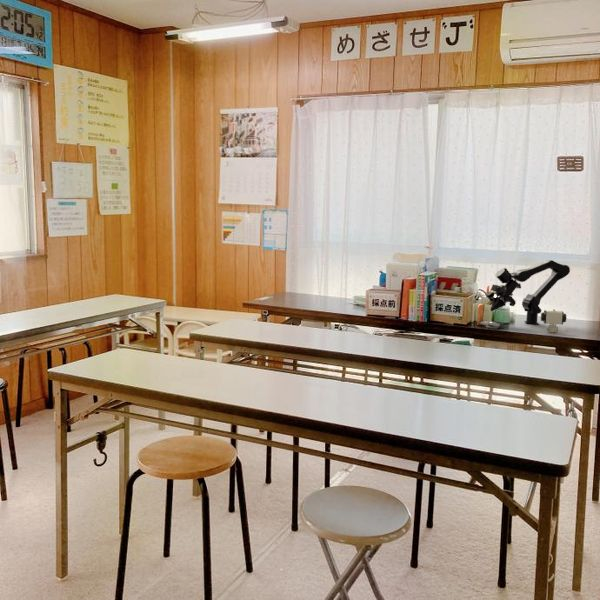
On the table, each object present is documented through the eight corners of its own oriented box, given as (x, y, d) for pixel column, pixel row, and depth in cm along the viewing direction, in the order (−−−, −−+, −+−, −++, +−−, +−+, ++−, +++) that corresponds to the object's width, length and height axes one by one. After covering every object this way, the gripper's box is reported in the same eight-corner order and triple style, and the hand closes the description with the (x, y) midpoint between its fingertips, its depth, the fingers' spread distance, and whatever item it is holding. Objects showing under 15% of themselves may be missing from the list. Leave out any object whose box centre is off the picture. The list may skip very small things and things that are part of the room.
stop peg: (496, 327, 331) (497, 322, 331) (502, 327, 331) (503, 322, 331) (497, 328, 328) (498, 323, 328) (503, 328, 328) (504, 323, 328)
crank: (500, 327, 328) (501, 306, 327) (495, 328, 326) (496, 307, 324) (480, 324, 338) (481, 303, 336) (475, 324, 335) (476, 304, 334)
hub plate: (484, 326, 334) (484, 324, 333) (497, 326, 333) (497, 324, 333) (486, 328, 327) (486, 326, 327) (500, 329, 326) (500, 327, 326)
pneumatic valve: (565, 333, 317) (567, 310, 315) (540, 332, 320) (542, 309, 318) (563, 331, 322) (565, 308, 320) (539, 330, 325) (541, 307, 323)
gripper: (489, 277, 345) (472, 298, 342) (512, 281, 328) (494, 303, 325) (499, 290, 349) (483, 311, 346) (523, 295, 332) (506, 316, 329)
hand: (491, 310), depth 337 cm, fingers closed
